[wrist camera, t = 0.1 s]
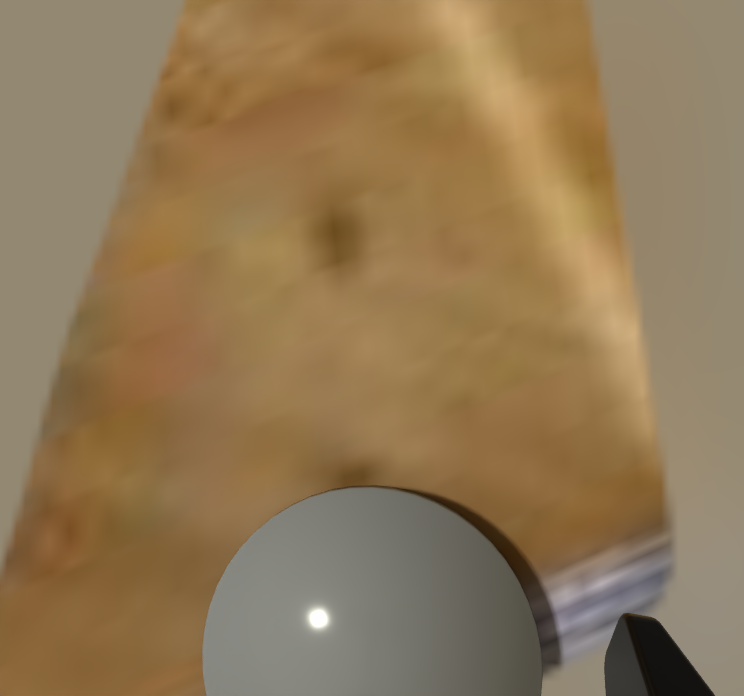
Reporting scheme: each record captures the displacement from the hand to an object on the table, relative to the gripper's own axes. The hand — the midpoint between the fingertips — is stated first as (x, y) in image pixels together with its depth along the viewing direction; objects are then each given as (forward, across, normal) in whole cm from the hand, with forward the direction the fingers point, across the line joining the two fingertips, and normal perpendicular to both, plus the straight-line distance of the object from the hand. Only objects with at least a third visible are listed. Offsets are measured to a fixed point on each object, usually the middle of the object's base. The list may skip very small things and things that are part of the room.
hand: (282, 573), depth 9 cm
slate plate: (+9, -1, +14) cm, 16 cm away
